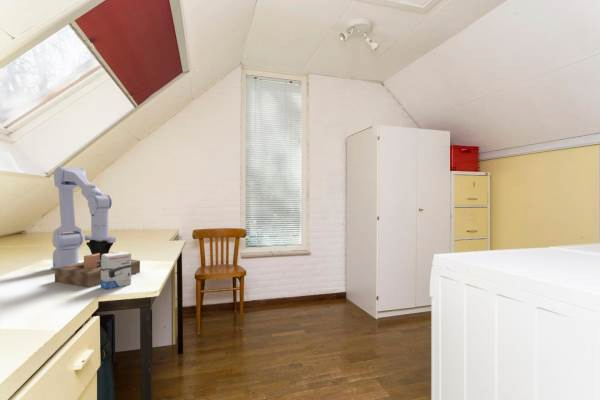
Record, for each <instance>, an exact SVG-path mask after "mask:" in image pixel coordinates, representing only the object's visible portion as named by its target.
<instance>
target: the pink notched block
mask: <svg viewBox="0 0 600 400" xmlns="http://www.w3.org/2000/svg"><path fill="white" fill-rule="evenodd" d="M109 253H115V251H109ZM98 260H101V259H100V253H97V254H88V255H84V256H83V262H84V268H85V269H95V268H97V261H98Z"/></svg>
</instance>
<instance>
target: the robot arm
mask: <svg viewBox="0 0 600 400" xmlns="http://www.w3.org/2000/svg"><path fill="white" fill-rule="evenodd" d="M53 182H54V186H55V187H56V188H58V198H59V199H58V200H59V214H60V215H59V216H60V226H59V227H58V228H56V229H55V230H53V233H52V234H53V236H52V239H51V241H52V245H53V247H54V248H55V250H53V252H52V267H50V269H51V270H55V268H58V267H63V266H68V265H72V264H77V263H80V261H79V260H80V259H79V258H80V256H79V255H80V254H79V251H80V249H79V248H81V246H82V245H83V243H84V242H85V241H87V242H85V243H86V246H87V247H88V248H89V250H90V253H91V254H90V255H92V254H97V253H100V259H101V255H103V254H108V253H109V252H110V250H111V248H112V246H113V245H114V243H116V241H117V239H116V236H115V237H114V236H110V235H109V210H110V209H111V207H112V205H113V204H112V202H113V201H112V198H111V195H109V194H103V192H102V191H101V190H100V189H99V188H98V187H97V185H96V184H94V183H93V184H92V183H90V181H89V179H87V172H86V170H85V169H84V168H82V167H80V168H79V167H65V166H57V167H56V168H55V170H54V172H53ZM78 187H79V188H80V189H81V191H80V193H81V195H82V196H83V197H84V198H85V200H86V201H87V207H88V209H89V214H90V215H91V216H90V218H91V222H90V223H91V226H90V227H91V228H90V229H91V230H90V231H91V232H90V233H91V234H87V235H86V234H85V235H83V231H82V228H81V227H80V226H77V225H76V218H75V217H76V216H75V215H76V214H75V201H74V189H75V188H78Z"/></svg>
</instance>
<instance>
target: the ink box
mask: <svg viewBox="0 0 600 400" xmlns="http://www.w3.org/2000/svg"><path fill="white" fill-rule="evenodd" d="M131 260H132V253H130V252H128V251H127V250H126V251H117V252H114V253H108V254H103V255H101V284H100V287H101V288H103V289H104V290H110V289H114V288H119V287H123V286H124V287H125V286H129V285H131V284H132V275H131Z"/></svg>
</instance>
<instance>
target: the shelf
mask: <svg viewBox="0 0 600 400" xmlns="http://www.w3.org/2000/svg"><path fill="white" fill-rule="evenodd" d="M138 272H139V273H141V261H140V260H138V259H131V276H132V275H135V274H139V273H138ZM54 282H56V283H62V284H68V285H74V286H79V287H86V288H91V287H94V286H95V287H96V286H99V285H101V260H98V261H97V268H95V269H85V268H84V261H83V262H79V263H77V264H72V265H68V266H63V267H58V268H55V269H54Z"/></svg>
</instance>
